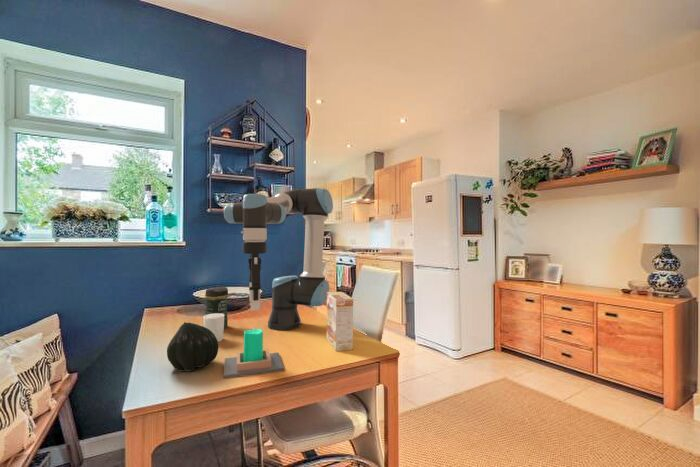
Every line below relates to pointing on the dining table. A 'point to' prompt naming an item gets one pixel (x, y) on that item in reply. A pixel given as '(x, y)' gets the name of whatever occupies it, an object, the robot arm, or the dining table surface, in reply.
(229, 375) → the candle plate
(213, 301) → the coffee jar
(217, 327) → the white cup
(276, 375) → the dining table surface
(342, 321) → the coffeecake box
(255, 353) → the candle
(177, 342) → the squash
